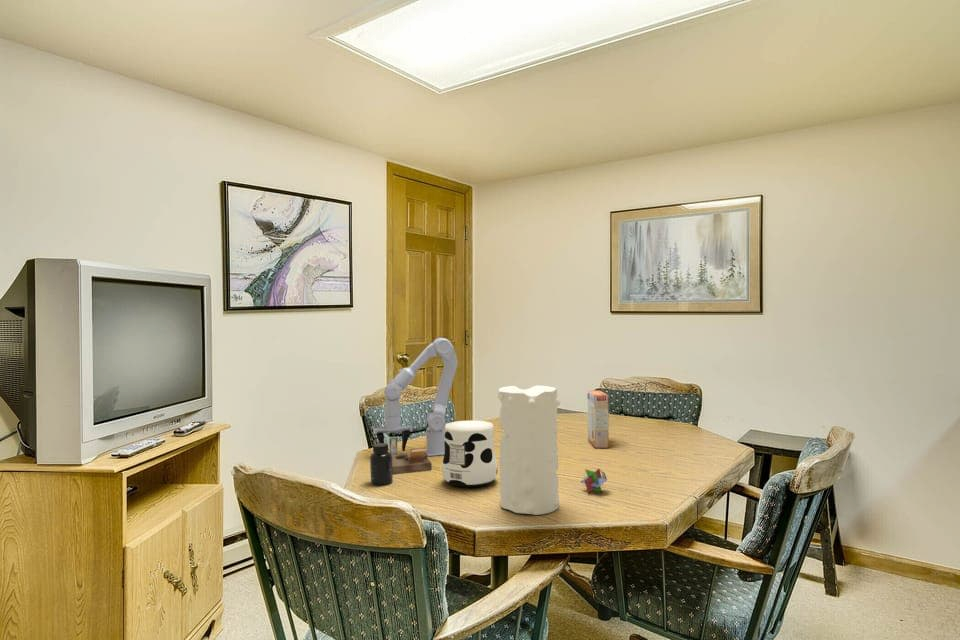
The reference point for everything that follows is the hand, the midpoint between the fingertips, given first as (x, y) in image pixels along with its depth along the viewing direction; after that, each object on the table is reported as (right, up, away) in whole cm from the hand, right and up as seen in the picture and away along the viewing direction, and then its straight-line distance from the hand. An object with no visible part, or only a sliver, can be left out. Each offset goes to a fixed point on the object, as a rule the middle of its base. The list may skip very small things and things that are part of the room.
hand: (393, 451), depth 202 cm
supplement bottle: (+2, -2, -33) cm, 33 cm away
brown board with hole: (+7, -2, -15) cm, 16 cm away
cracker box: (+80, -1, +13) cm, 81 cm away
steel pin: (0, -2, 0) cm, 2 cm away
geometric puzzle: (+66, -1, -46) cm, 80 cm away
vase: (+46, -1, -56) cm, 73 cm away
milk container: (+29, -1, -34) cm, 45 cm away
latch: (+11, +3, -18) cm, 21 cm away
